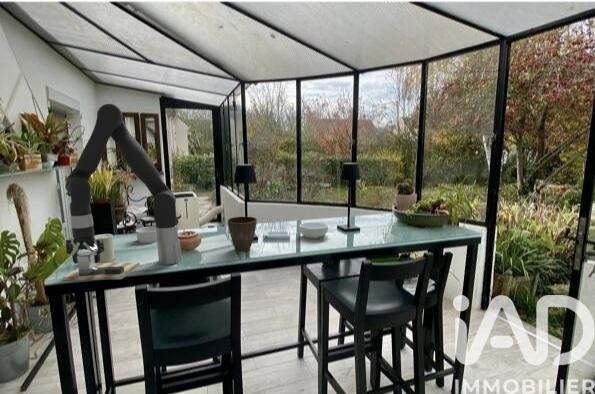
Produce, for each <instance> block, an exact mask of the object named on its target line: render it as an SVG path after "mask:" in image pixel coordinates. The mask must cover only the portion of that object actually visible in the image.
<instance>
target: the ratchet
mask: <svg viewBox="0 0 595 394" xmlns="http://www.w3.org/2000/svg"><path fill="white" fill-rule="evenodd" d="M77 269H78V268H77ZM78 270H79V269H78ZM123 272H124V267H97V266H95V267H94V268H92V269H90V270H79V276H89V275H93V274H122V273H123Z"/></svg>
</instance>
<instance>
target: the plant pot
mask: <svg viewBox="0 0 595 394" xmlns="http://www.w3.org/2000/svg"><path fill="white" fill-rule="evenodd" d="M257 222H258V221H257V218H256V217H253V216H236V217H235V216H234V217H230V218H228V219H227V226H228V230H229V231H228V232H229V234H230V238H231V239H230V240H231V241H232V244H233V246H234V249H235V251H236V252H243V253H244V252H247V251H250V250H251V248H252V244H253V242H254V237H255V234H256V228H257Z"/></svg>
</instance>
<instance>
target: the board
mask: <svg viewBox="0 0 595 394" xmlns="http://www.w3.org/2000/svg"><path fill="white" fill-rule="evenodd" d="M96 265H97V267H124V272H123V273H122V274H93V275H89V276H79V270H78V269H79V268H78V267H77V268H76V269H74V270H73V271H71V272H69V273H68V274H66V275H63V276H62V280H63V279H64V280H63V281H81V280H82V281H84V280H85V281H89V280H90V281H93V280H95V281H97V280H106V281H107V280H123V279H124V278H125V277H126V276H128V275H129V274H130V273H133V271H134V270H136V269H137V268H138V267H139V266H141V263H140V262H104V263H96ZM65 279H66V280H65Z"/></svg>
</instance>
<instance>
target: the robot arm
mask: <svg viewBox="0 0 595 394" xmlns="http://www.w3.org/2000/svg"><path fill="white" fill-rule="evenodd" d="M123 116H124V115H123V112H122V110H121V108H119V106H117V105H116V104H113V103H106V104H103V105H101V106H100V107H99V108H98V110H97V116H96V120H95V125H94V127H93V129H92V132H91V134H90V137H89V139H88V140H87V143H86V145H85V146H84V148H83V150H82V152H81V154H80V156H79V158H78V160H77V162H76V165H75V167H74V168H73V169H72V171H71V172H70V174H69V176H68V177H67V180H66V182H65V188H66V190H67V191H68V192H69V193H70V200H71V202H70V204H69V210H70V224H71V234H72V237H71V238H69V239H67V240H65V248H66V250H65V253H66V254H67V255H71V257H72V262H73V264H75V265H78V260H77V256H78V255H79V252H80V251H81V250H87V251H89V252H93V254H94V261H95V263H99V261H100V253H102V252H104V245H103V239H102V238H100V239H95V238H94V236H95V228H94V219H93V215H92V206H91V194H92V193H91V192H92V191H91V184H90V181H89V180H90V178H91V176H92V175H93V174H95V172H96V171H97V169H98V167H99V165H100V162H101V160H102V158H103V155H104V153H105V150H106V148H107V144H108V142H109V139H110V137H111V138H112V140H113V142H114V143H115V145H116V147H117V149H118V151H119V152H120V155H121V157H122V158H123V159H124V161H125V162H126V164H127V166H128V167H129V168H130V170H131V171H132V173H133V174H134V175H135V176H136V177H137V178H138V180H139V181H140V182H141V183H143V185H145V187H146V188H147V189H148V191H149V193H150V195H151V196H152V198H153V201H152V202H153V203H152V204H153V205H152V206H153V215H154V216H153V217H154V223H155V226H156V233H157V242H156V243H157V244H156V245H157V259H158V264H160V265H162V266H163V265H164V266H166V265H167V266H168V265H175V264H176V265H177V264H178V263H179V262H180V261H181V260H182V251H181V249H182V248H181V240H180V239H179V229H178V219H177V207H176V206H177V205H176V204H177V203H176V202H177V199H176V196H175V194H174V193H173V192H172V190H171V189H170V188H169V187H168V186H167V184H166V183H165V182H164V180H163V179H162V178H161V176H160V174H159V171H158V169H157V167H156V166H155V164H154V163H153V161H152V159H151V157H150V156H149V154H148V153H147V152H146V150H145V148H143V146H142V145H141V144H140V142H139V141H137V140H136V138H135V137H133V135H132V134H131V133H130V131H129V129H128V128H127V126H126V124H125V122H124V119H123V118H124V117H123ZM94 243H96V244H97V246H96V245H95V244H94ZM92 247H93V248H92Z"/></svg>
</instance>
